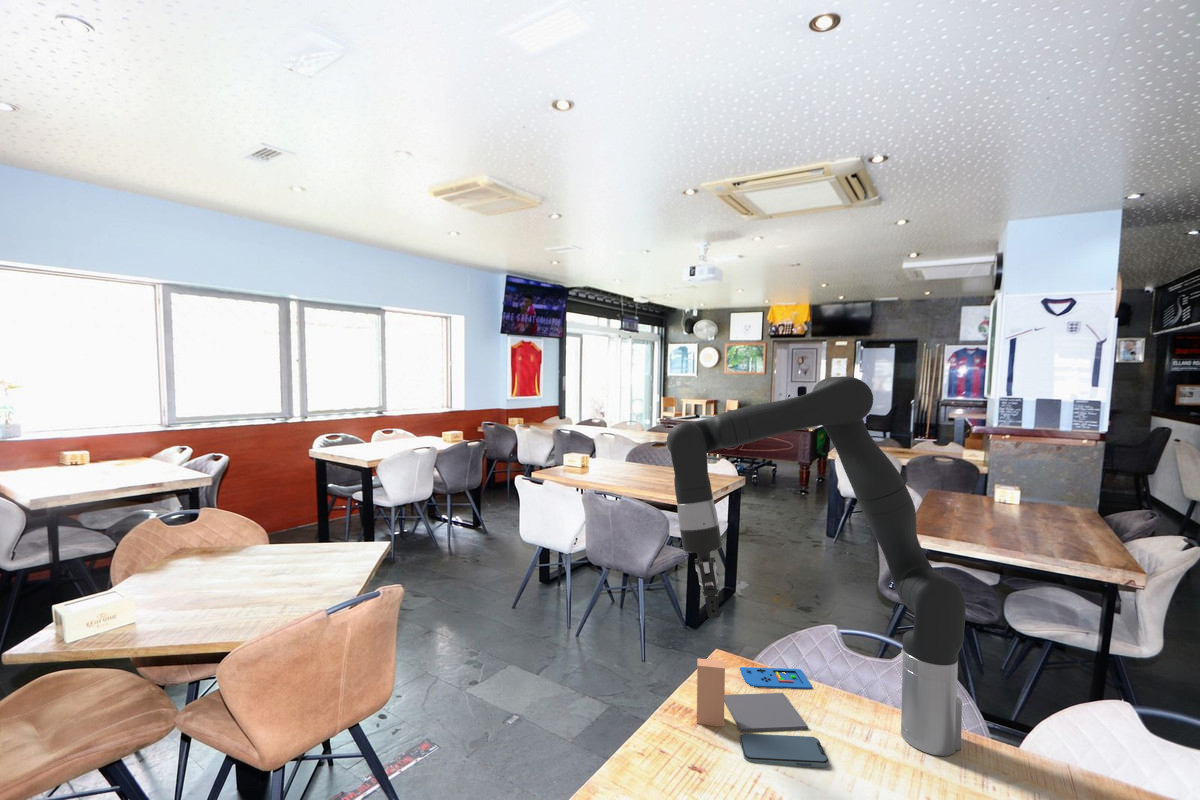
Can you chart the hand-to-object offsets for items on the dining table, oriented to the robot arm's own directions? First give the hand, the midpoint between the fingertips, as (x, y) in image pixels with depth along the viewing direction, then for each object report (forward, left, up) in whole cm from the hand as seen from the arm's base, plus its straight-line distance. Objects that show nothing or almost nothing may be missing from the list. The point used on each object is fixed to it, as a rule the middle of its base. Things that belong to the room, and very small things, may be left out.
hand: (712, 610), depth 102 cm
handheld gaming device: (-22, -23, -27) cm, 42 cm away
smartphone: (-13, +2, -27) cm, 30 cm away
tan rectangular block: (-2, -8, -26) cm, 28 cm away
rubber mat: (-14, -10, -26) cm, 32 cm away
